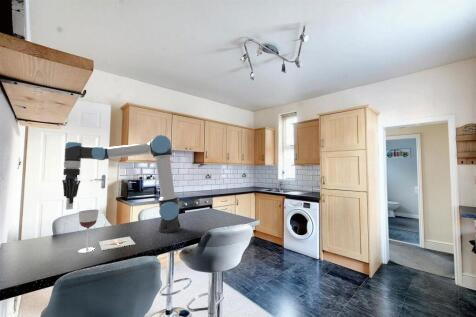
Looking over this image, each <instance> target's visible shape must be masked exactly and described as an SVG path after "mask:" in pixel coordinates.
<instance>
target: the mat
mask: <svg viewBox="0 0 476 317" xmlns="http://www.w3.org/2000/svg"><path fill="white" fill-rule="evenodd" d="M98 244H99V247H100V249H101V251H102V252H103V250H104V251H109V250H113V249H117V248H125V247H129V245H130V246H134V245H136V242H135V241H134V240H133V239H132V237H131V236H125V237H119V238H112V239H107V240H106V239H105V240H102V241H100V240H99V241H98ZM124 246H125V247H124ZM108 249H109V250H108Z"/></svg>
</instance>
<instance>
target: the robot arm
mask: <svg viewBox="0 0 476 317" xmlns="http://www.w3.org/2000/svg"><path fill="white" fill-rule="evenodd" d="M64 148H65V149H64V162H63V167H64V168H63V175H64V176H65V179H62V180H61V181H62V186H63V187H62V188H63V189H62V190H63V196H64V197H65V199H66V202H65V210H67V211H68V210H73V209H74V198H76V197H77V195H78V191H79V186H80V183H81V180H78V176H80V174H81V169H80V168H81V162H82V160H83V159H84V160H85V159H87V160H90V159H91V160H98V161H105V160H110V159H119V158H126V157H133V156H135V157H137V156H141V155H151V156H152V158H153V159H154V160H155V161H156V170H157V178H158V185H159V192H160V197H159V199H158V205H159V210H158V213H159V215H160V221H159V224H158V227H157V231H158V232H159V233H164V234H165V233H166V234H167V233H174V232H175V233H177V232H178V231H181V226H182V224H181V223H180V220H179V213H180V206H179V205H180V204H179V203H180V202H179V201H180V199H179V196H177V195H176V194H175V187H174V179H173V172H172V171H173V170H172V164H171V157H172V156H173V153H172V143H171V139H169V137H168V136H166V135H162V134H159V135H156V136H154V137H153V138H152V139H151V141H148V142H146V143H138V144H128V145H119V146H110V147H103V146H98V145H97V146H94V145H93V146H92V145H91V146H90V145H89V146H88V145H87V146H86V145H83V144H82V142H78V141H67V142H65V147H64Z"/></svg>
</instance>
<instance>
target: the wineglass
mask: <svg viewBox="0 0 476 317" xmlns="http://www.w3.org/2000/svg"><path fill="white" fill-rule="evenodd" d="M98 218H99V209H86V210H80V211H78V220H79V224H80V227H83V228H86V243H85V244H86V245H85V248H81V249H78V251H77V252H78V253H84V254H85V253H90V252H93V251H95V250H96V249H95V248H96V247H94V248H93V247H89V237H90V236H89V234H90V229H91V227H93V226H94V225H96V224H97V221H98ZM94 249H95V250H94ZM92 250H93V251H92Z"/></svg>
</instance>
